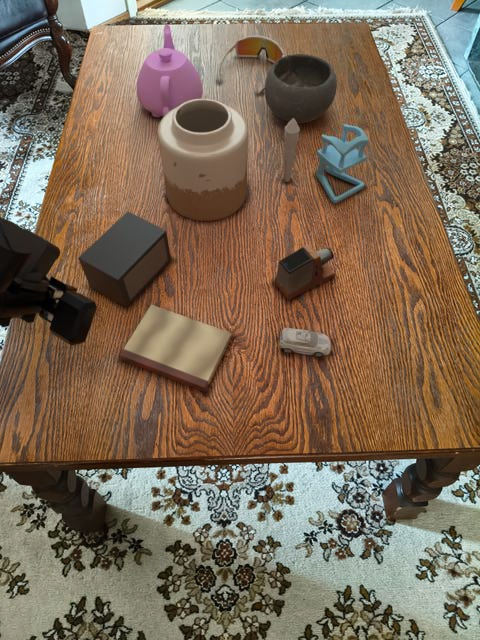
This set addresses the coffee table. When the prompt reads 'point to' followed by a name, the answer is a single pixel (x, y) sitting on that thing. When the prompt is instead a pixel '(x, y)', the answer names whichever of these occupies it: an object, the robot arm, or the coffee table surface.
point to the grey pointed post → (290, 147)
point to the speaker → (126, 258)
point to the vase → (204, 159)
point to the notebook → (176, 347)
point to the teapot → (167, 79)
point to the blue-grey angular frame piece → (341, 160)
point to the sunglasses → (256, 49)
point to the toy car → (304, 342)
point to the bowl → (300, 87)
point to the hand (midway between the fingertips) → (74, 290)
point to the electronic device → (303, 271)
